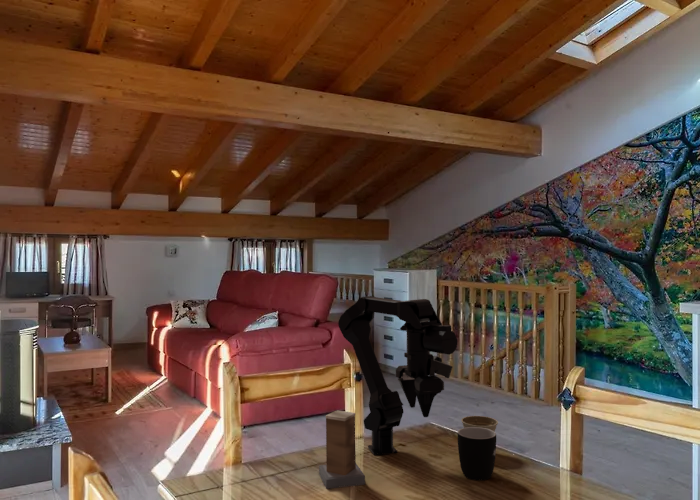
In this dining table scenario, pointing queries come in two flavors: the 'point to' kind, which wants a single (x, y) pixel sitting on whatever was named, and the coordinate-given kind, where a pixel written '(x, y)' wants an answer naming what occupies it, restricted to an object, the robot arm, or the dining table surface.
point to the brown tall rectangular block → (340, 442)
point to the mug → (477, 452)
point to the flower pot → (479, 422)
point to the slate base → (341, 478)
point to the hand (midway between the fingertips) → (419, 412)
